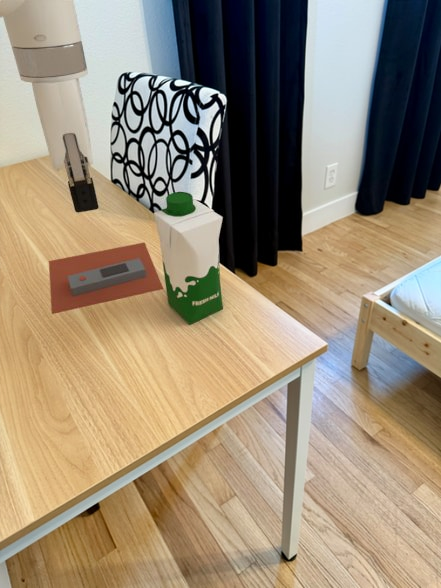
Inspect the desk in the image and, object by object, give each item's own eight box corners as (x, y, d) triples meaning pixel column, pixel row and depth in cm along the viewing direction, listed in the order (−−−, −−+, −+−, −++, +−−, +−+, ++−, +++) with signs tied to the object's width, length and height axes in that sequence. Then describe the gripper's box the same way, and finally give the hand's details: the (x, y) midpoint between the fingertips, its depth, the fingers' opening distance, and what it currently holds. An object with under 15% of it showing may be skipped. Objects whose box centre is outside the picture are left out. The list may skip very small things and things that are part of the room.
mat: (52, 314, 75) (51, 313, 75) (49, 261, 89) (49, 261, 89) (163, 289, 80) (163, 288, 80) (144, 242, 94) (144, 242, 93)
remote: (73, 296, 79) (70, 287, 78) (69, 283, 82) (67, 275, 81) (146, 276, 83) (145, 268, 82) (140, 265, 86) (139, 257, 85)
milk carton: (202, 285, 80) (195, 184, 68) (230, 310, 74) (229, 204, 62) (161, 303, 76) (146, 199, 64) (188, 331, 70) (177, 222, 58)
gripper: (18, 54, 54) (57, 192, 65) (14, 77, 42) (62, 239, 54) (79, 49, 55) (107, 184, 67) (91, 70, 44) (121, 227, 55)
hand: (86, 208), depth 60 cm, fingers closed
